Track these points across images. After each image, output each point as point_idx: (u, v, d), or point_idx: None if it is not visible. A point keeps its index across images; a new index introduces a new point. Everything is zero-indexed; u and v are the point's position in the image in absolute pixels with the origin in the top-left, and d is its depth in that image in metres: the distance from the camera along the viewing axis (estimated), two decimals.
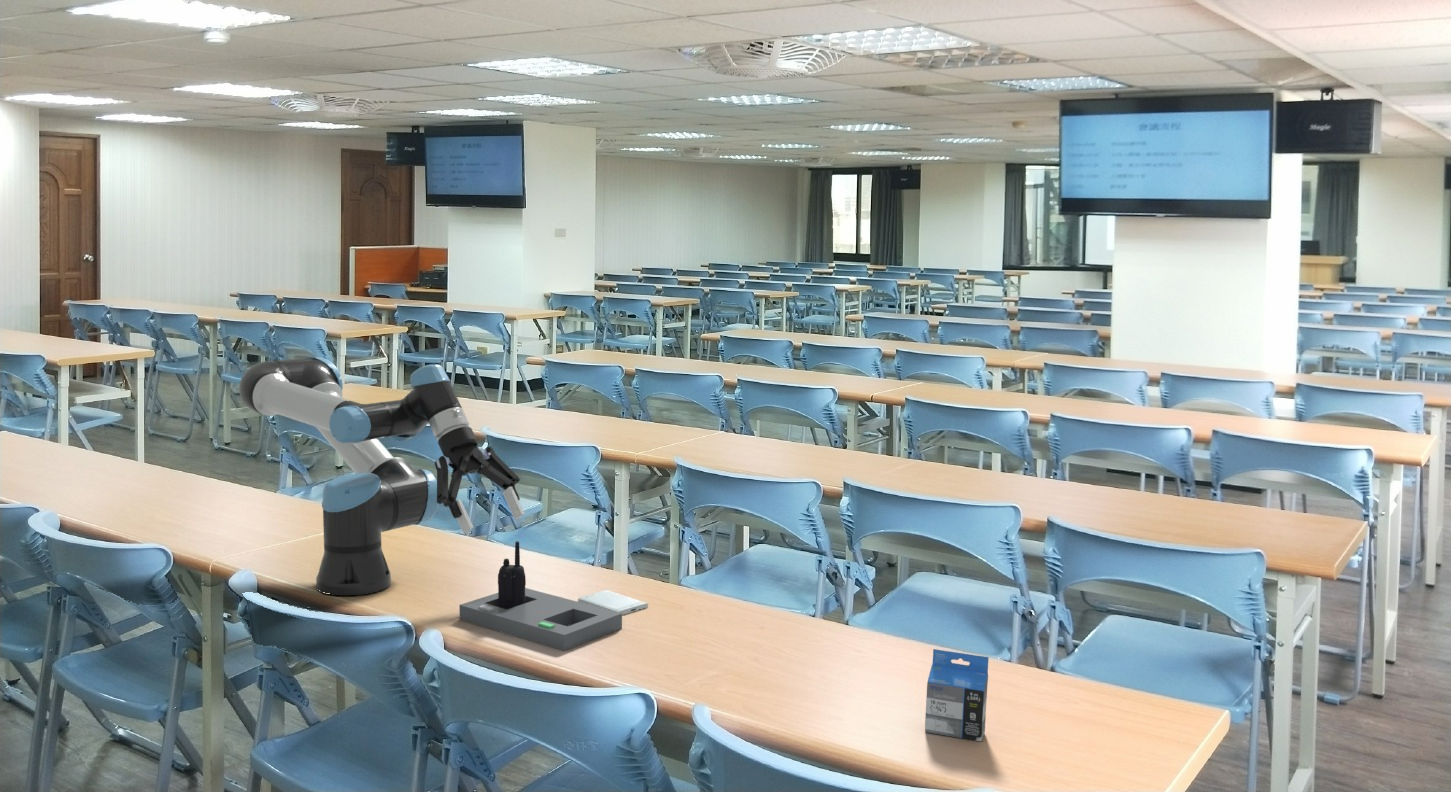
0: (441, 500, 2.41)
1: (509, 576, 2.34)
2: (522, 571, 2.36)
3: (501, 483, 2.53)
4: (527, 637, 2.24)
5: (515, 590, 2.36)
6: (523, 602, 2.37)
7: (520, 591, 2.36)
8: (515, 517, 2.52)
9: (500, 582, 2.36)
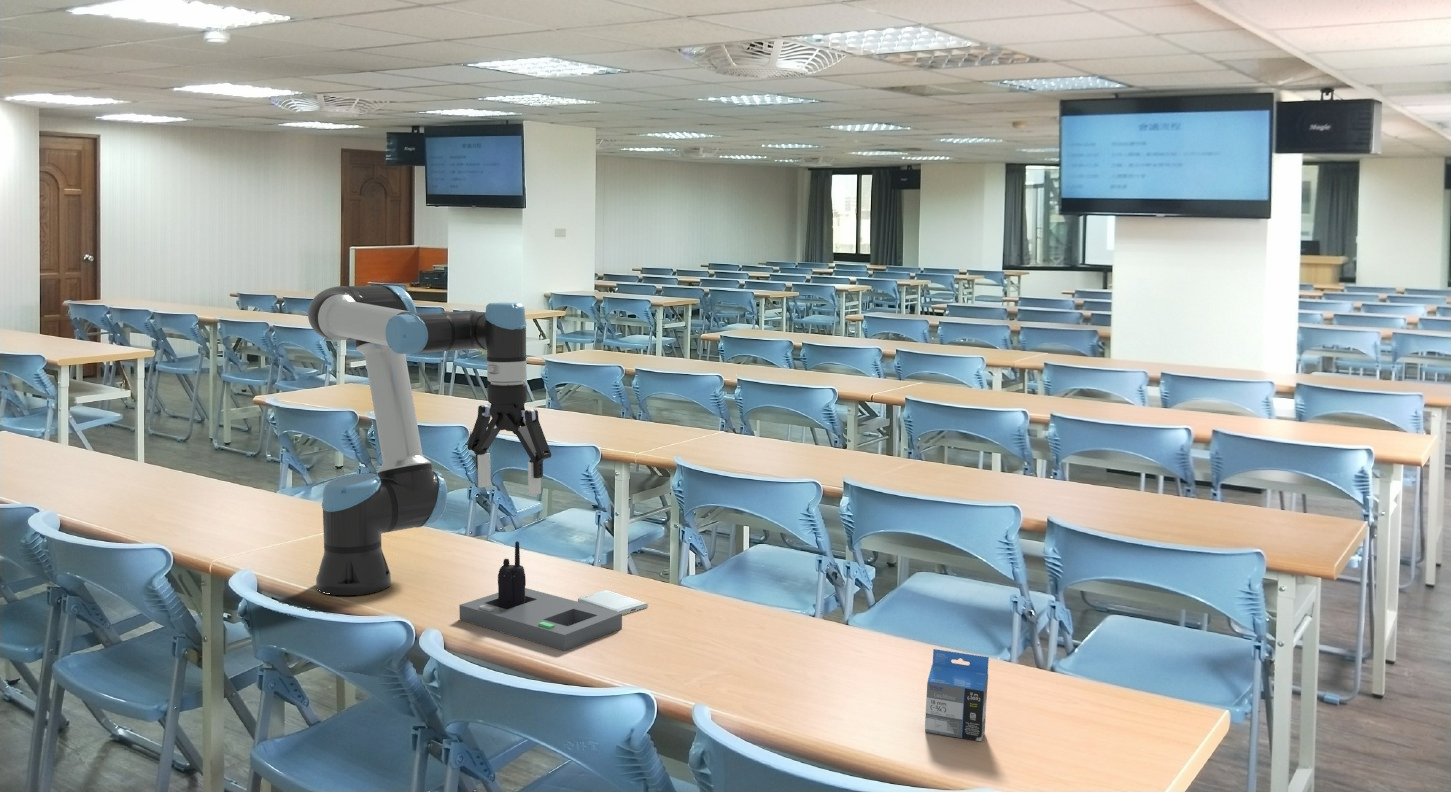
0: None
1: (509, 576, 2.34)
2: (522, 571, 2.36)
3: None
4: (527, 637, 2.24)
5: (515, 590, 2.36)
6: (523, 602, 2.37)
7: (520, 591, 2.36)
8: None
9: (500, 582, 2.36)
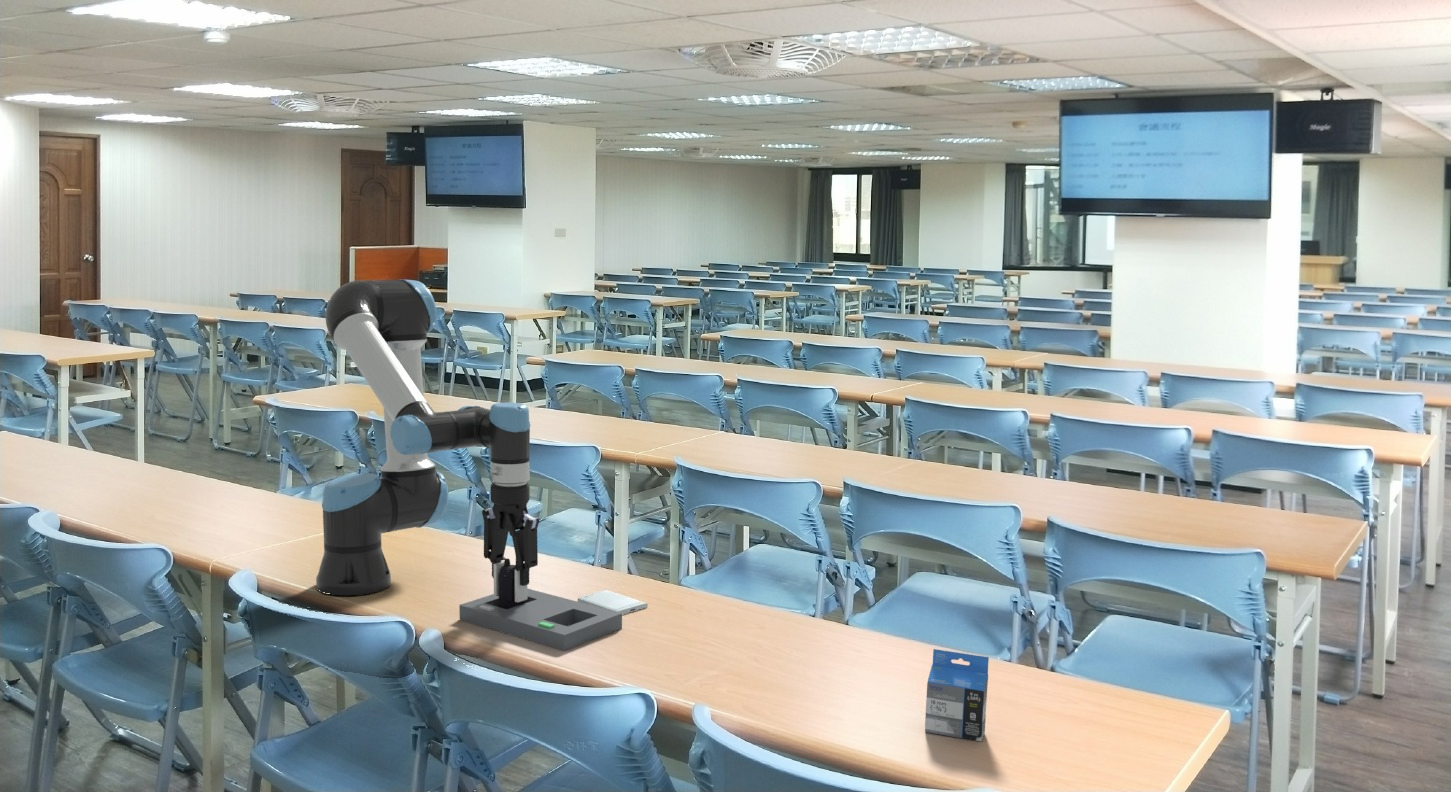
0: None
1: (510, 576, 2.34)
2: None
3: None
4: (527, 637, 2.24)
5: None
6: (523, 602, 2.37)
7: None
8: None
9: (501, 582, 2.36)
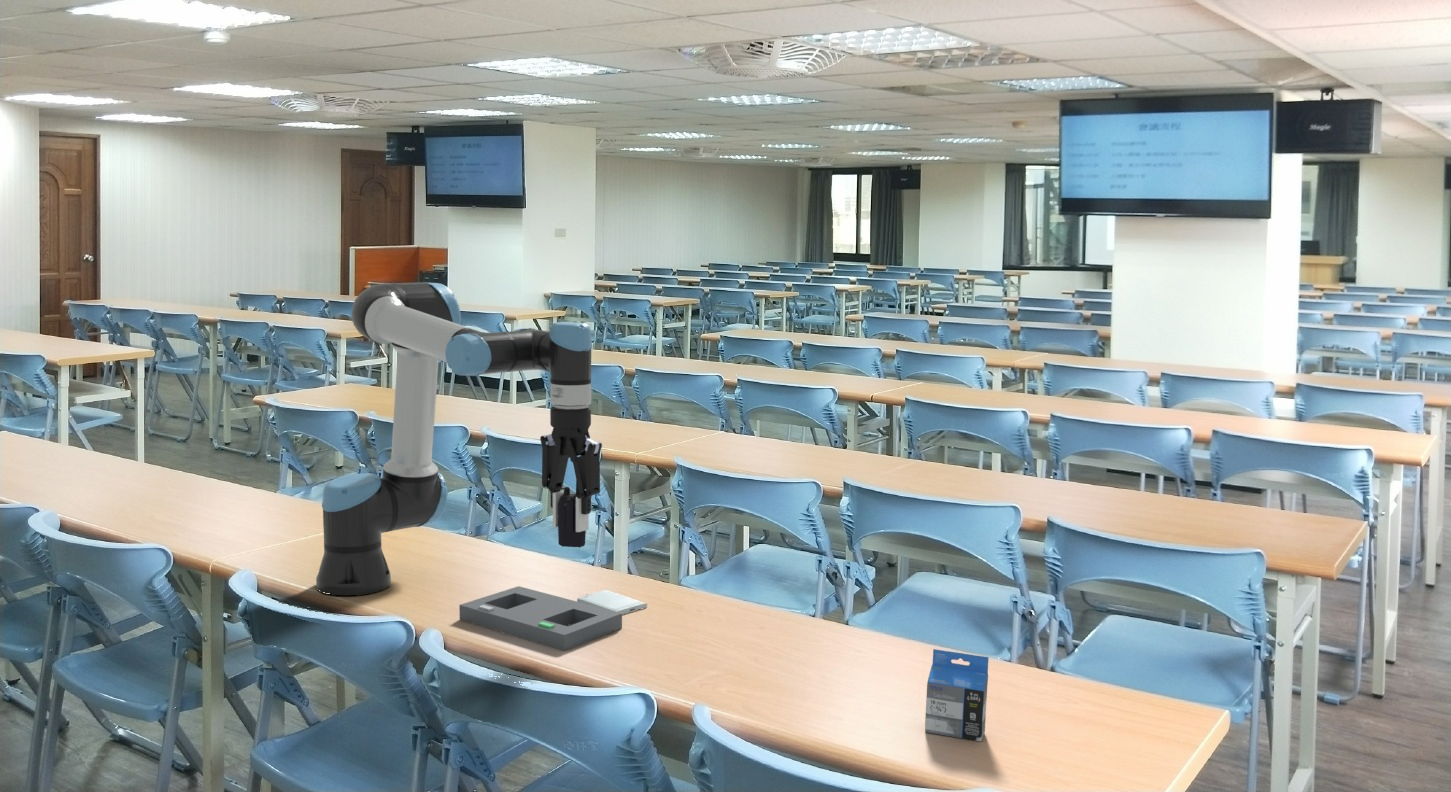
0: None
1: (570, 505, 2.22)
2: None
3: None
4: (527, 637, 2.24)
5: None
6: (584, 533, 2.25)
7: None
8: None
9: (560, 511, 2.24)
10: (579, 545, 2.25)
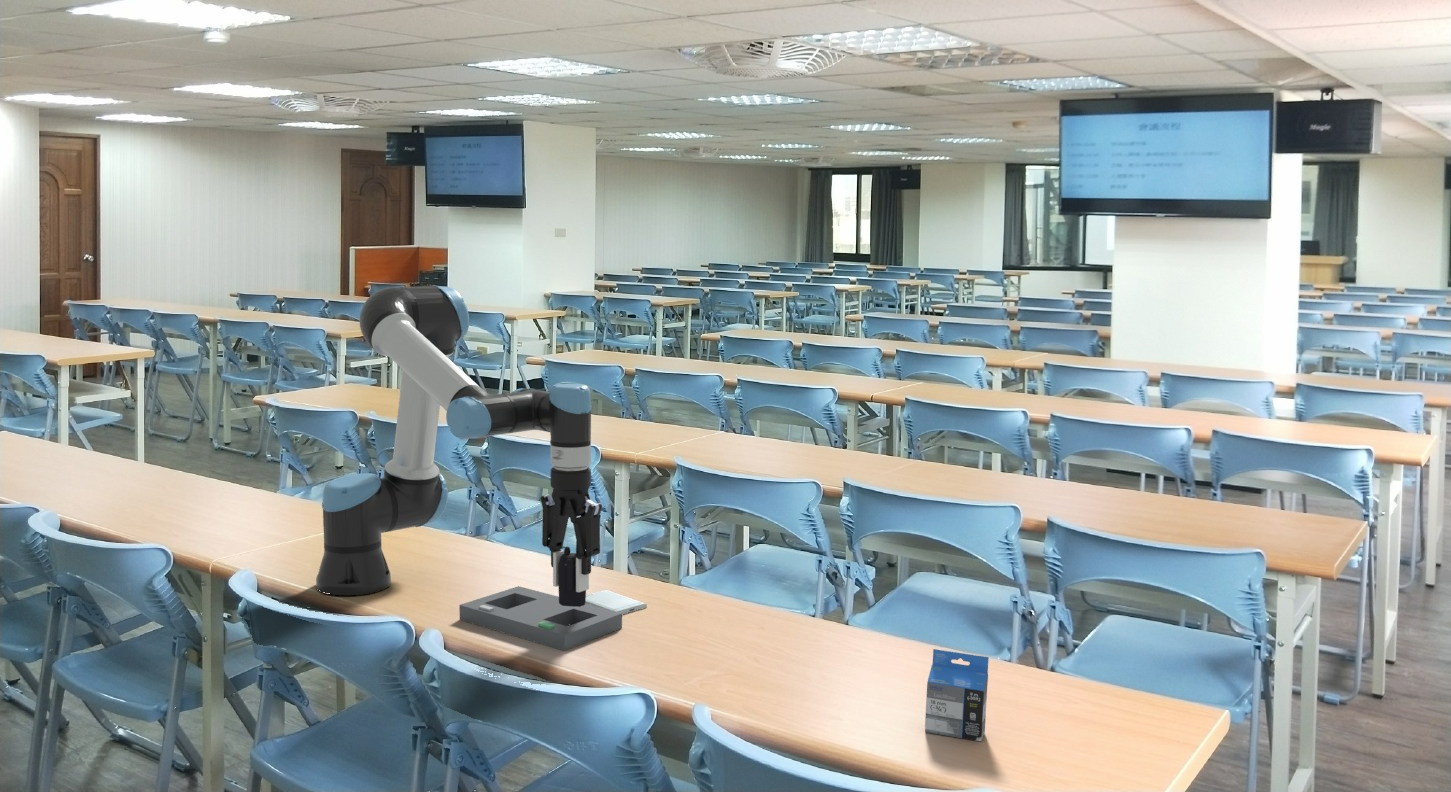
0: None
1: (571, 565, 2.24)
2: None
3: None
4: (527, 637, 2.24)
5: None
6: (584, 592, 2.27)
7: None
8: None
9: (561, 571, 2.26)
10: (579, 604, 2.26)
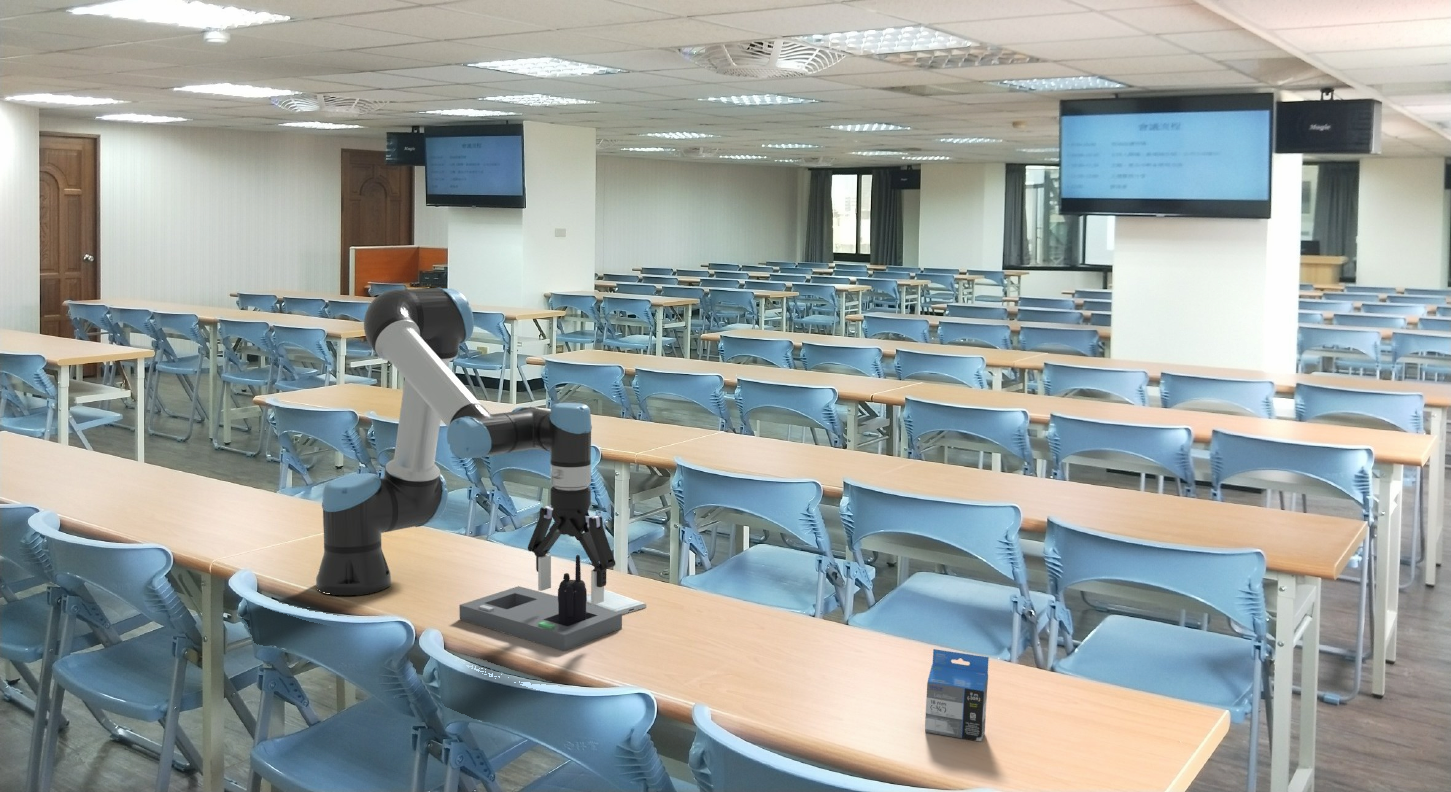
0: None
1: (571, 591, 2.25)
2: (583, 586, 2.27)
3: None
4: (527, 637, 2.24)
5: (577, 605, 2.26)
6: (584, 618, 2.28)
7: (581, 606, 2.27)
8: None
9: (561, 598, 2.27)
10: None
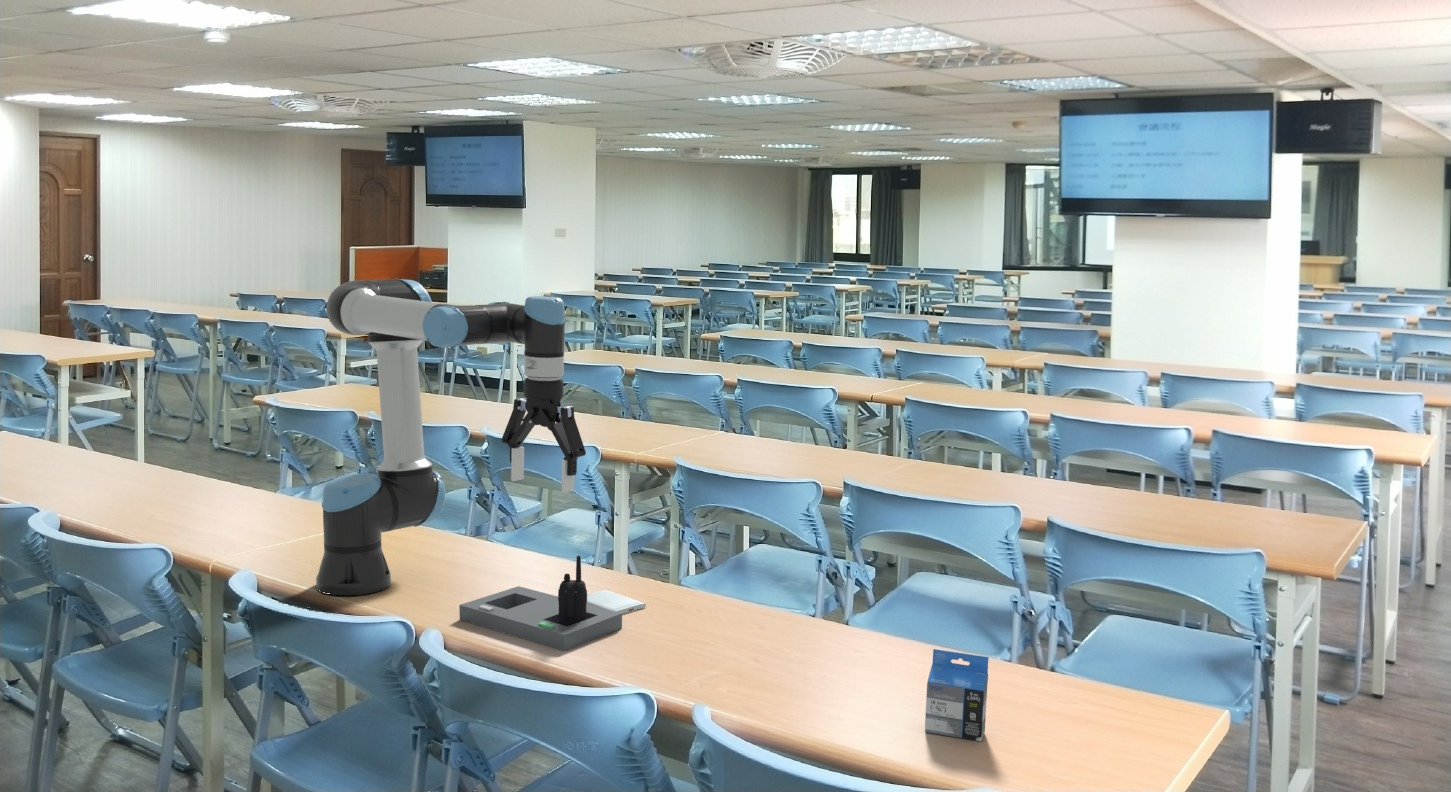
0: None
1: (571, 592, 2.25)
2: (584, 586, 2.27)
3: None
4: (527, 637, 2.24)
5: (577, 606, 2.26)
6: (585, 619, 2.28)
7: (581, 607, 2.26)
8: None
9: (561, 598, 2.26)
10: None
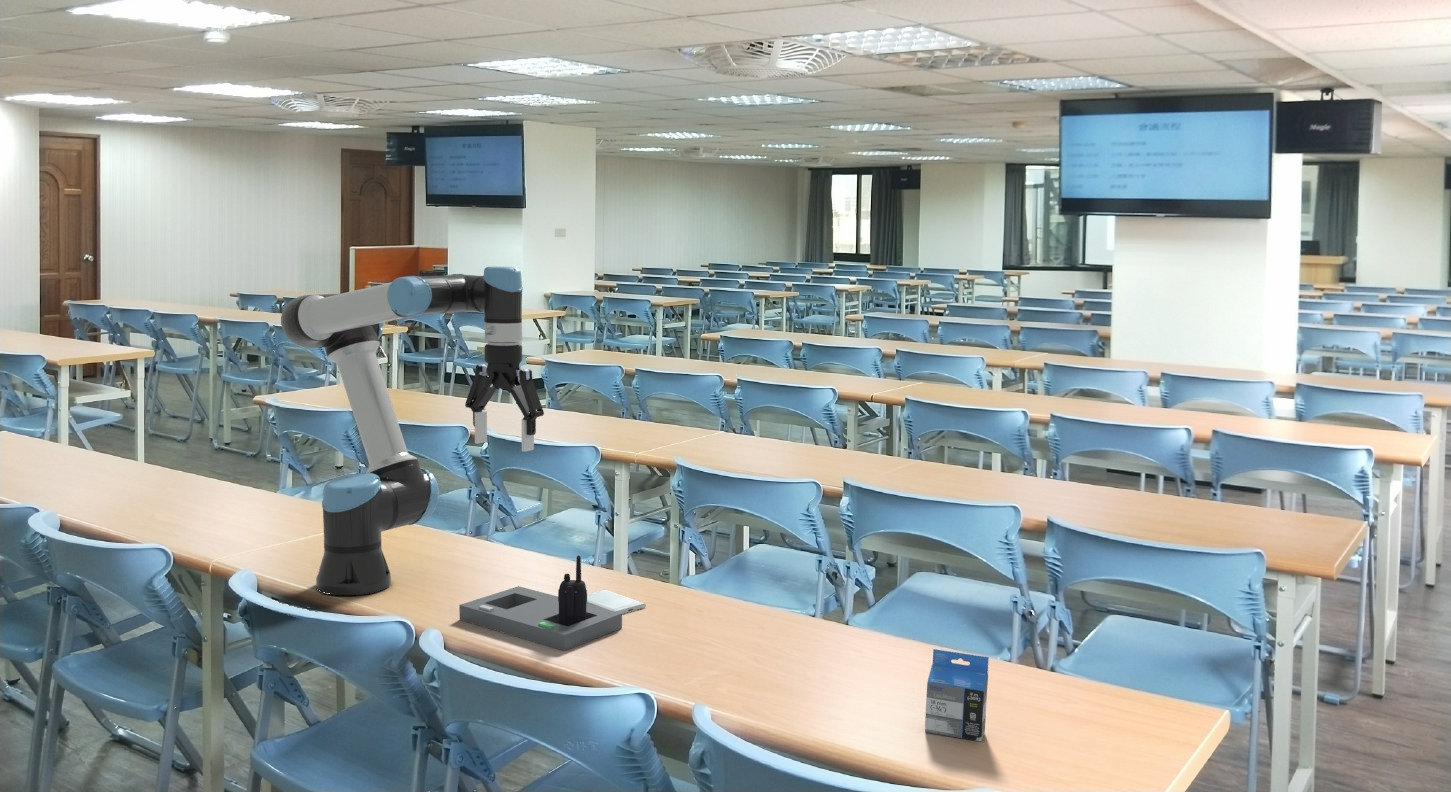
0: None
1: (571, 592, 2.25)
2: (584, 586, 2.27)
3: None
4: (527, 637, 2.24)
5: (577, 606, 2.26)
6: (585, 619, 2.28)
7: (581, 607, 2.26)
8: None
9: (561, 598, 2.26)
10: None
